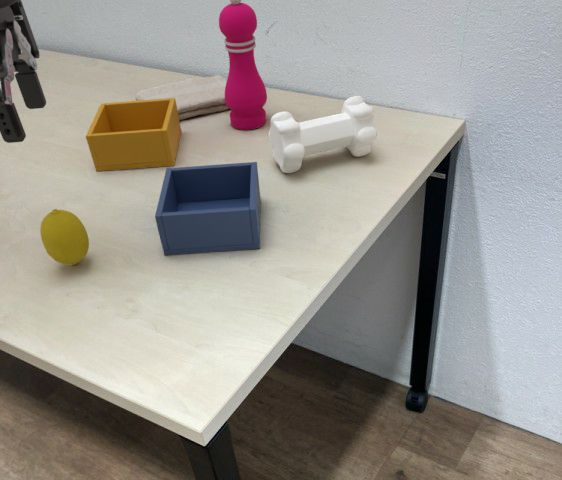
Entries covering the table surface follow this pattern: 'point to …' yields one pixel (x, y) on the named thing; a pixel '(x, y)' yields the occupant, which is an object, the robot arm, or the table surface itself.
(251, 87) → the pepper mill
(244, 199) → the blue bin
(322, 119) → the white bone
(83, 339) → the table surface
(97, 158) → the ochre bin
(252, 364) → the table surface
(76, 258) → the lemon
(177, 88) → the washcloth
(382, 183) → the table surface
